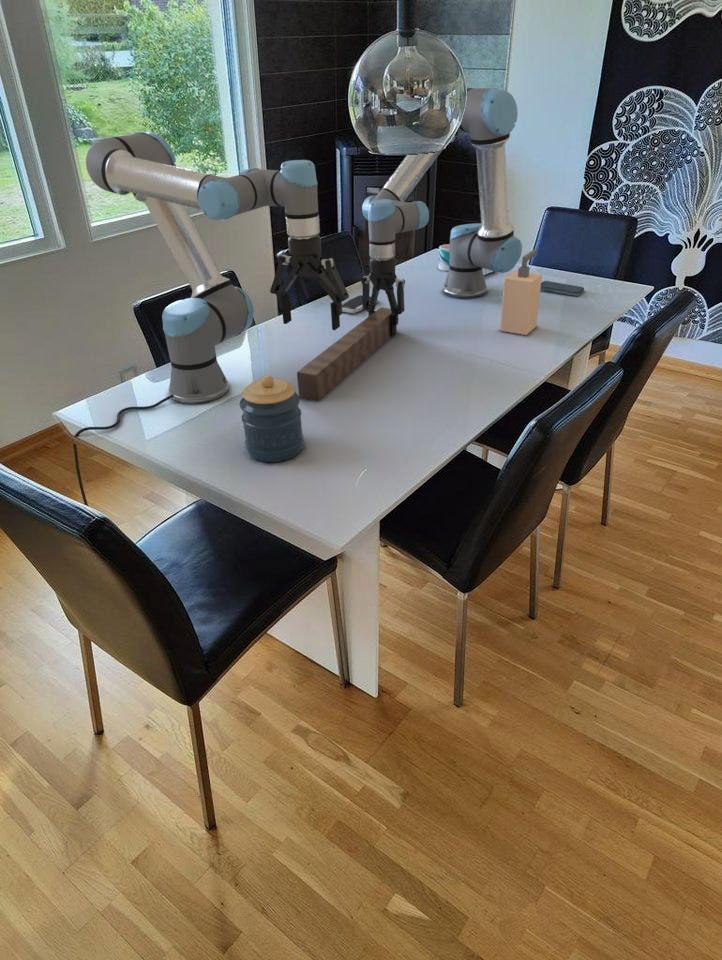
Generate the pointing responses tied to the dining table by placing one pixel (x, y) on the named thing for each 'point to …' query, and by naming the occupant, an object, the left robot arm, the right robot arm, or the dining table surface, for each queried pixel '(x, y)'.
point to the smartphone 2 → (561, 288)
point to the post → (344, 356)
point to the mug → (444, 257)
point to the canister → (271, 420)
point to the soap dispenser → (521, 299)
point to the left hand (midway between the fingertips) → (311, 325)
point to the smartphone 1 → (353, 305)
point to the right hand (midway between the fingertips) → (383, 333)
